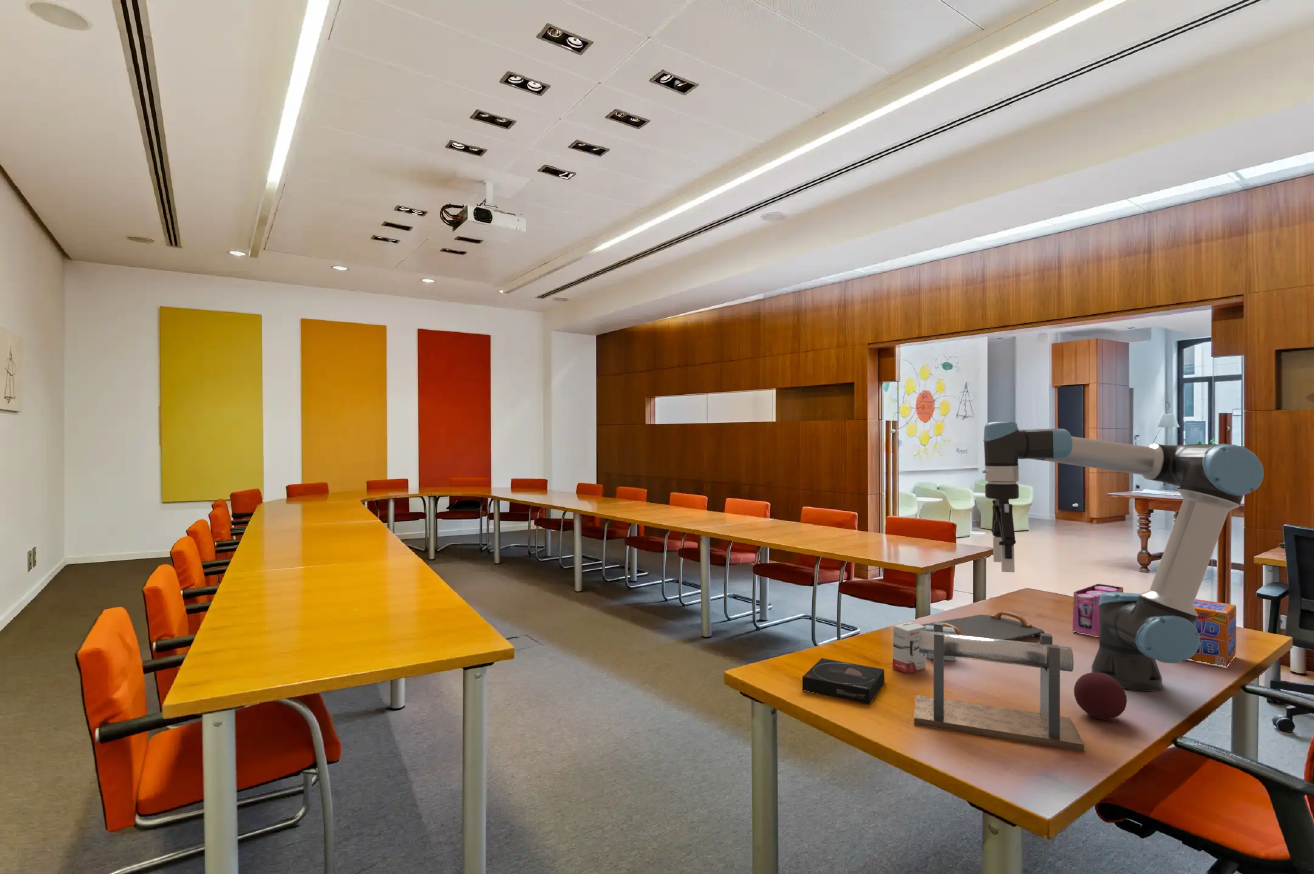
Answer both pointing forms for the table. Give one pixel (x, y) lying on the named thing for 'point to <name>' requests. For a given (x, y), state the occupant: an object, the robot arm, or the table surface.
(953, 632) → the medicine box
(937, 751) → the table surface
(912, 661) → the ink box
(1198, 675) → the table surface
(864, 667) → the portable cd player
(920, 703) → the bracket rack
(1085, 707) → the decorative ball
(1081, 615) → the gum box
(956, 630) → the serving board
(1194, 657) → the game box
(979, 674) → the table surface
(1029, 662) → the steel rod
